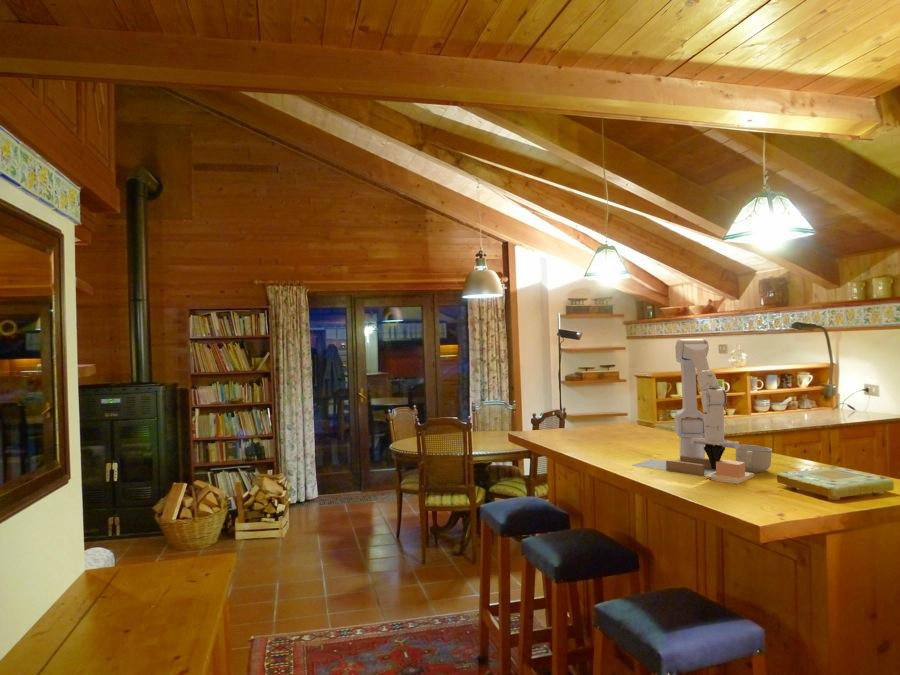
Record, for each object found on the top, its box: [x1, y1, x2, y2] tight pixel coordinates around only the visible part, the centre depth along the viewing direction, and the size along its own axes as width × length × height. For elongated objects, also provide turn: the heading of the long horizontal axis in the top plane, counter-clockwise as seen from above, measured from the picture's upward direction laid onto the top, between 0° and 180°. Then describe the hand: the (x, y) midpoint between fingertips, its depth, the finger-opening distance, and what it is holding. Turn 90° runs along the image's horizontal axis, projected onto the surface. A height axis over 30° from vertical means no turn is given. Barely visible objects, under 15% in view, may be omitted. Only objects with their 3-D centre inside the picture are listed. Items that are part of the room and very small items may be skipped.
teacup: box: [735, 444, 773, 473], centre depth 203 cm, size 14×11×8 cm
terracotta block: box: [716, 459, 746, 478], centre depth 194 cm, size 5×7×4 cm
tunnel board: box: [631, 455, 755, 485], centre depth 203 cm, size 14×35×4 cm, turn 45°
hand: (714, 468), depth 198 cm, fingers closed
